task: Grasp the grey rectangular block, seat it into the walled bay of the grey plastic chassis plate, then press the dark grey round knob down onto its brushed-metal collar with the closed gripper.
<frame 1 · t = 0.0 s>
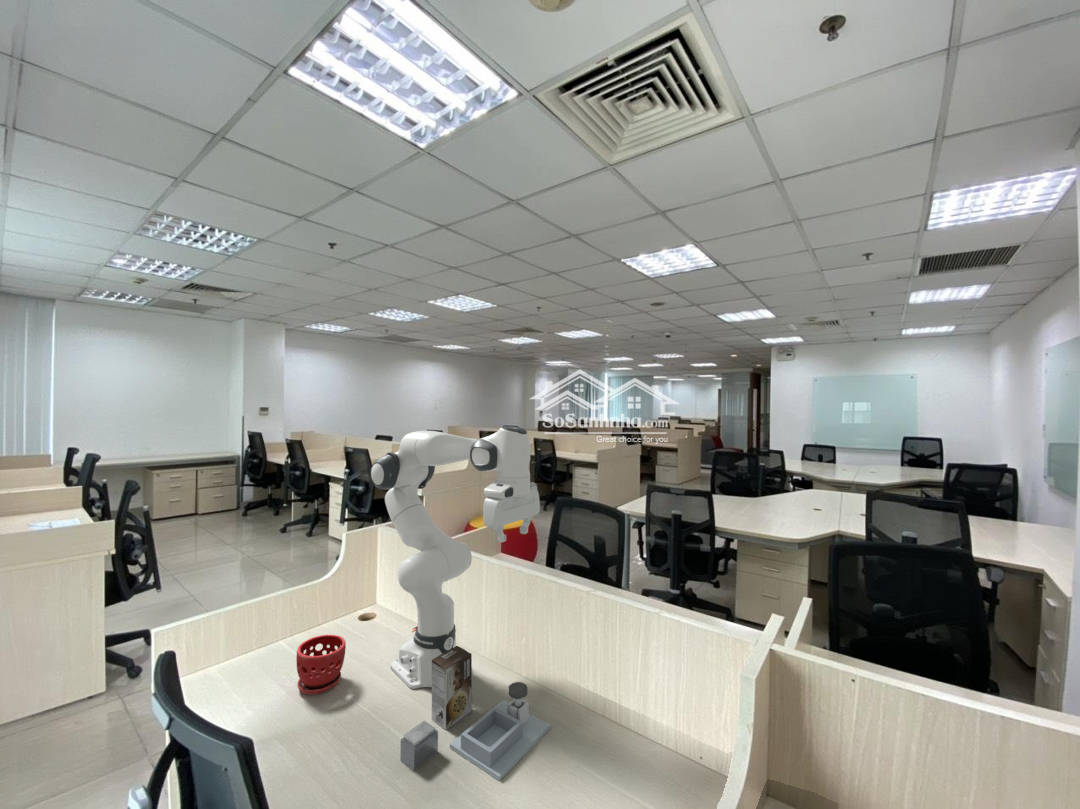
hand: (513, 537, 120), 48 cm above the table, fingers open, 8 cm apart
plant pot: (321, 685, 132), on the table
dark grey round knob: (518, 696, 116), point 7 cm above the table, slide at 0.0 cm
chassis: (501, 737, 111), on the table
grey rectangular block: (419, 756, 105), on the table
coffee box: (451, 716, 119), on the table
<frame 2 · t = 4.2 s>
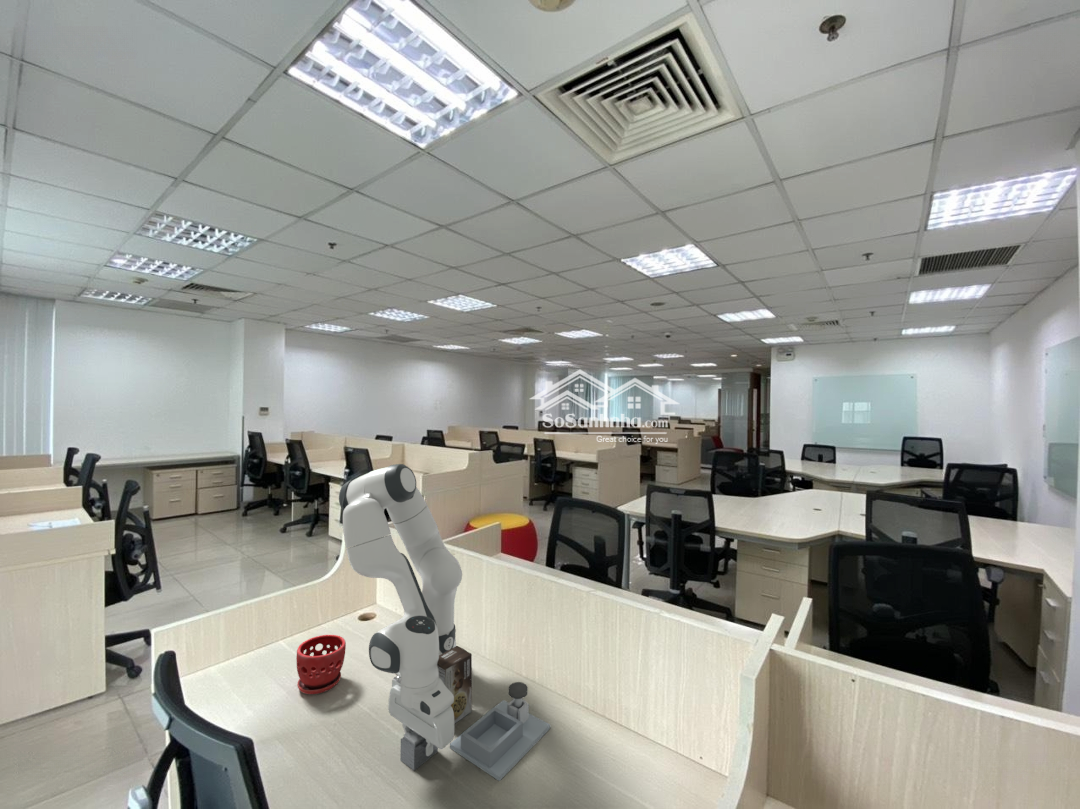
hand: (419, 747, 105), 2 cm above the table, fingers closed on grey rectangular block, 5 cm apart
grey rectangular block: (419, 755, 105), on the table, touching gripper
everything else where it was.
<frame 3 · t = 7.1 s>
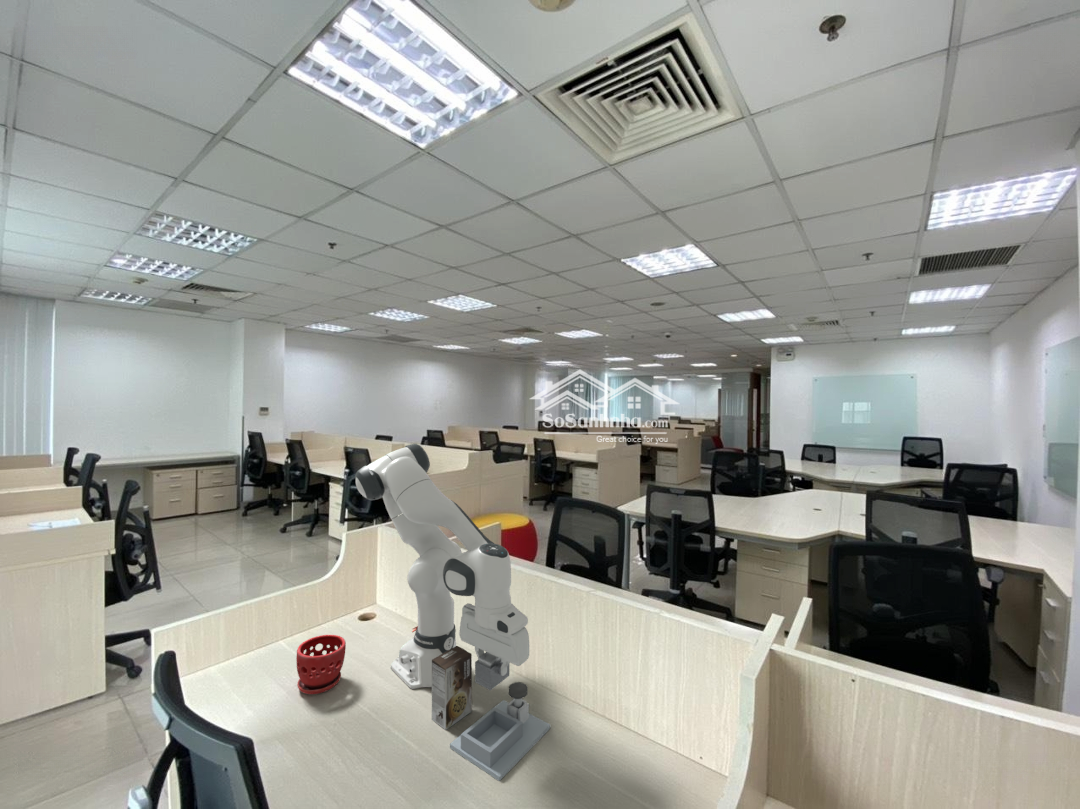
hand: (492, 669, 108), 19 cm above the table, fingers closed on grey rectangular block, 5 cm apart
grey rectangular block: (492, 679, 108), point 17 cm above the table, touching gripper
everything else where it was.
when the fingers open (5 cm above the table, at t = 10.0 s): grey rectangular block drops 2 cm, resting on chassis.
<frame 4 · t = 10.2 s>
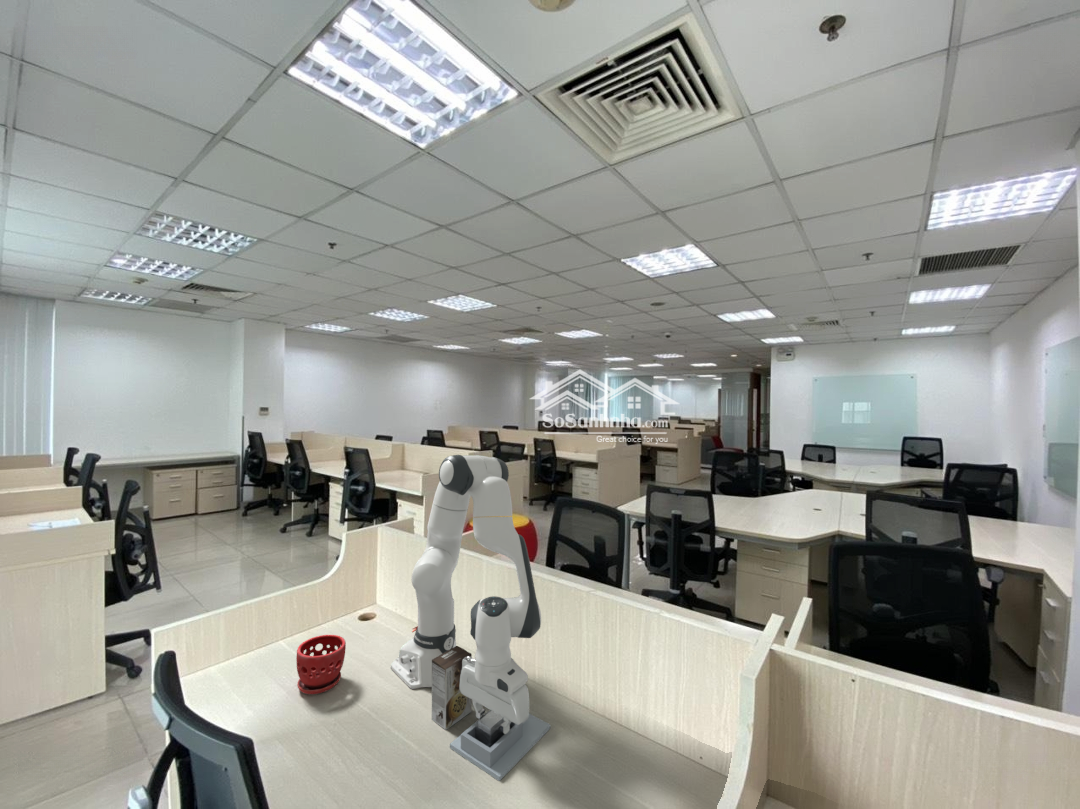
hand: (492, 724, 108), 5 cm above the table, fingers open, 7 cm apart
grey rectangular block: (492, 742, 108), point 1 cm above the table, touching chassis
everything else where it was.
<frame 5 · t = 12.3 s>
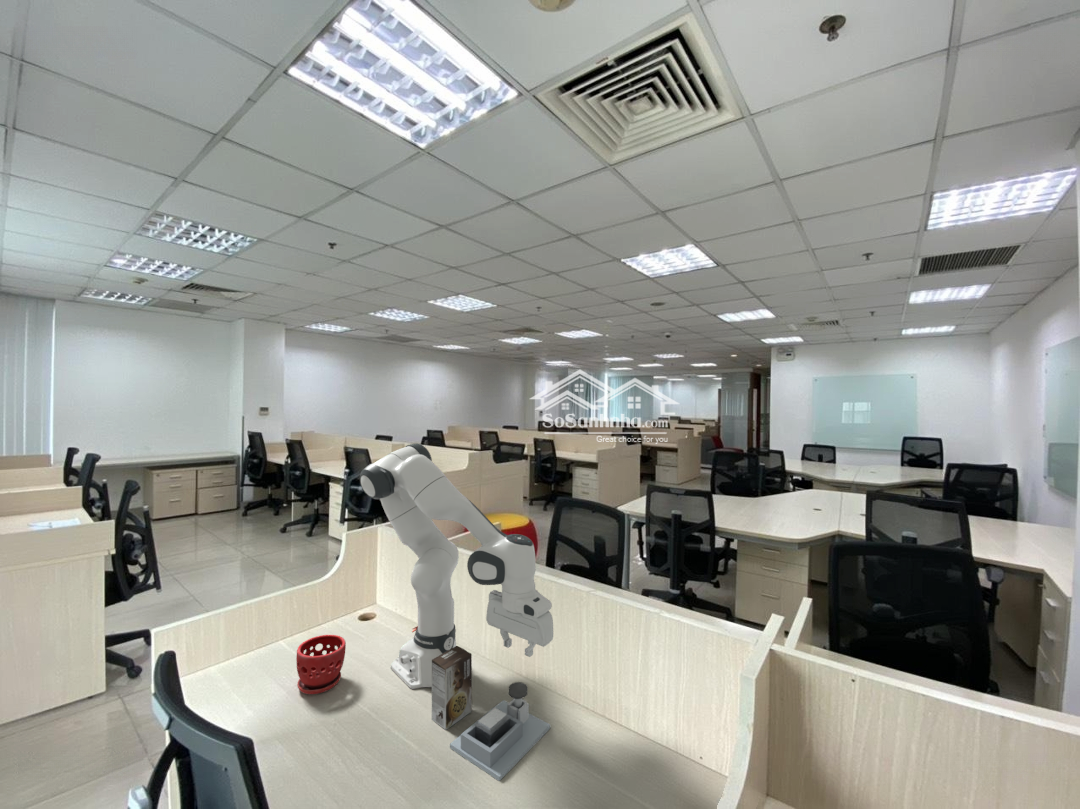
hand: (518, 650, 116), 19 cm above the table, fingers open, 6 cm apart
nothing on the table moved.
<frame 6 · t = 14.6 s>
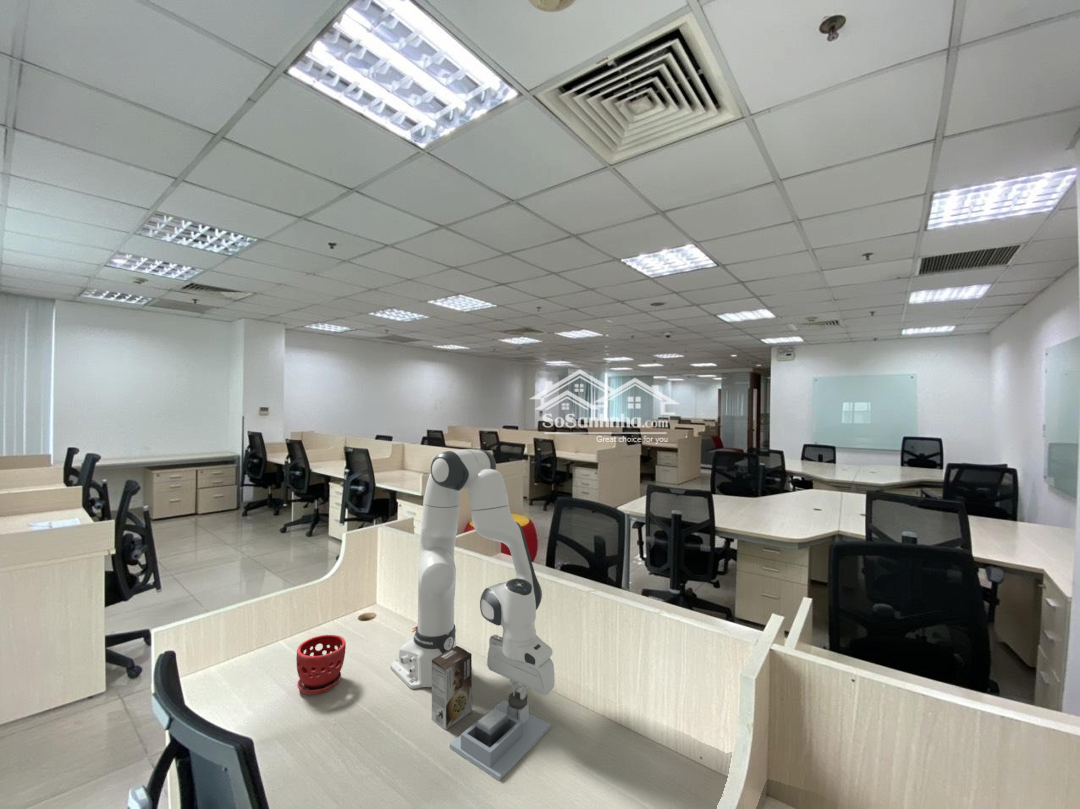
hand: (519, 696, 116), 7 cm above the table, fingers closed, pressing on dark grey round knob
dark grey round knob: (517, 706, 116), point 4 cm above the table, slide at 2.4 cm, touching gripper
everything else where it was.
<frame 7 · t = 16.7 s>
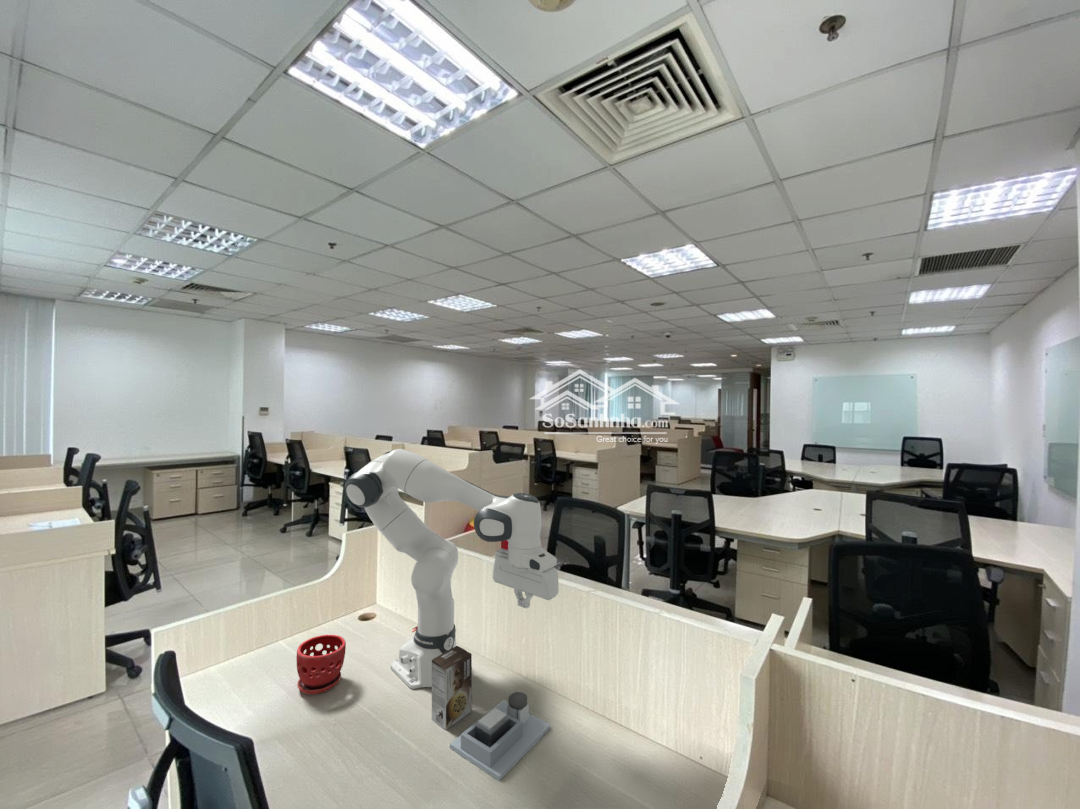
hand: (523, 606, 118), 30 cm above the table, fingers closed
dark grey round knob: (517, 707, 116), point 4 cm above the table, slide at 2.7 cm
everything else where it was.
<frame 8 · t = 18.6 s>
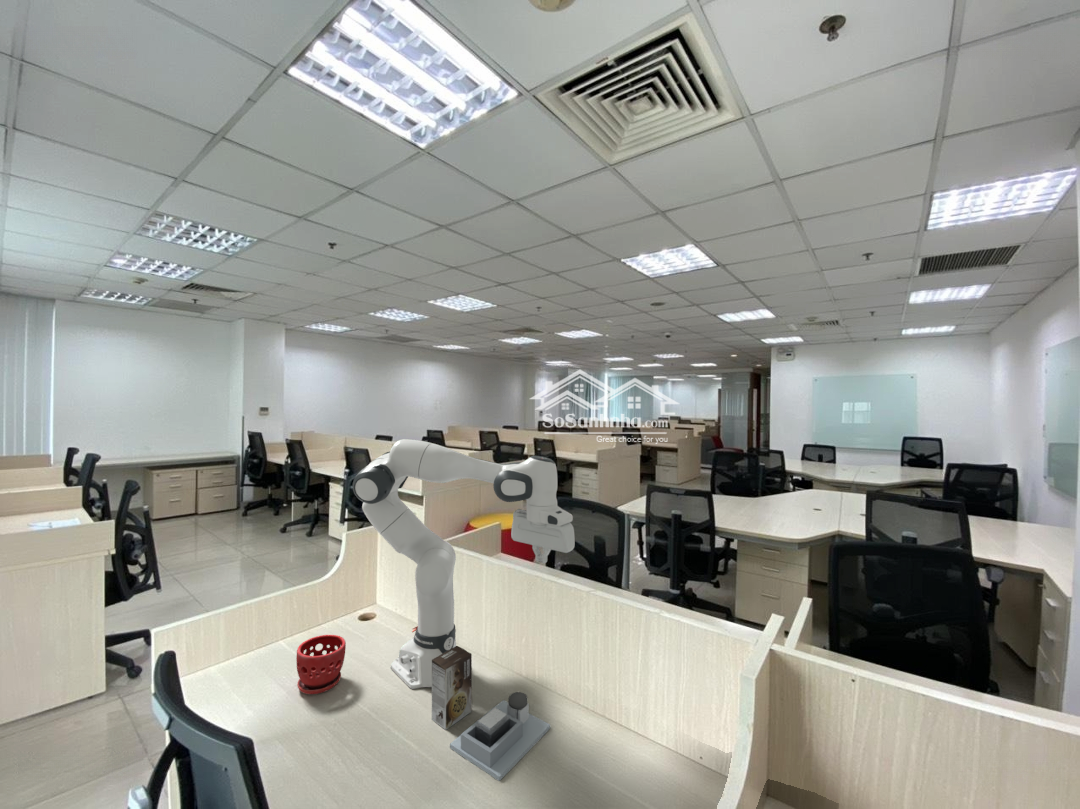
hand: (541, 561, 126), 39 cm above the table, fingers closed
nothing on the table moved.
at the end: grey rectangular block 0.1 cm from the target spot on the chassis, point 1.0 cm above the chassis's base; grey rectangular block tilted 0°; dark grey round knob slide at 2.7 cm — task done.
